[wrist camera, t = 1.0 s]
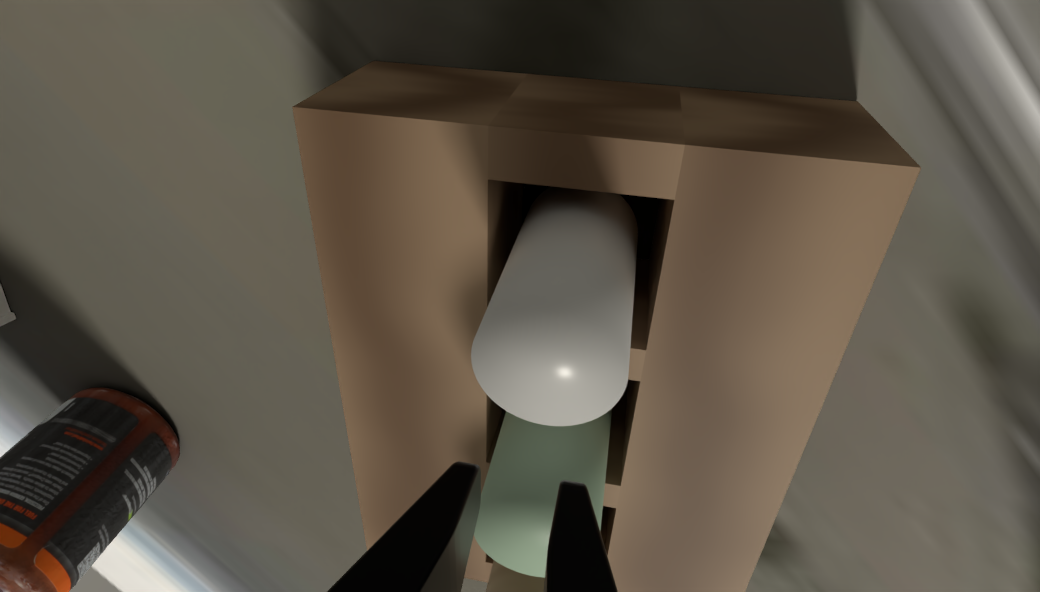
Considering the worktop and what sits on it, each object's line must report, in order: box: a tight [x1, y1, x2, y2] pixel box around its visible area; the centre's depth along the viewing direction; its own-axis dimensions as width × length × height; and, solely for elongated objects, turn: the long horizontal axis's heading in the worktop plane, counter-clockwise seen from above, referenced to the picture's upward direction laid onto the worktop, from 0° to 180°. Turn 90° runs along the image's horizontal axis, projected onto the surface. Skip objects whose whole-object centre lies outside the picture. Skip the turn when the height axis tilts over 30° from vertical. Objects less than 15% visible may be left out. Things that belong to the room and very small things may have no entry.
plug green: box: [474, 409, 612, 578], centre depth 18 cm, size 3×3×6 cm
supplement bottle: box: [0, 388, 180, 592], centre depth 27 cm, size 6×6×11 cm
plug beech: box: [486, 560, 545, 592], centre depth 21 cm, size 3×3×6 cm
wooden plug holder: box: [292, 61, 921, 592], centre depth 21 cm, size 14×18×5 cm
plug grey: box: [471, 186, 638, 426], centre depth 15 cm, size 3×3×6 cm
